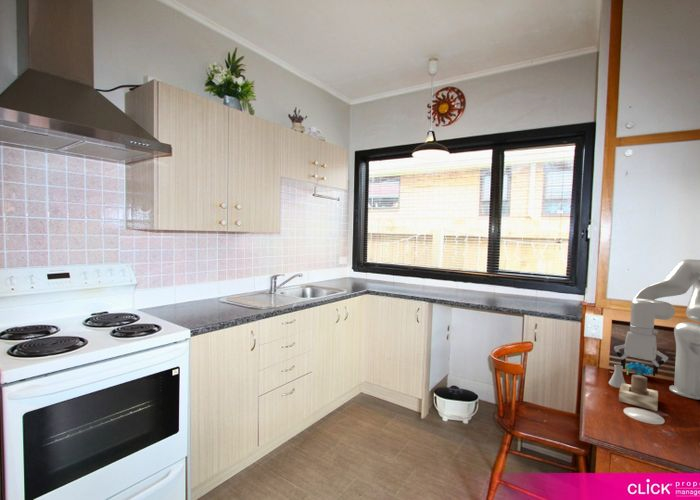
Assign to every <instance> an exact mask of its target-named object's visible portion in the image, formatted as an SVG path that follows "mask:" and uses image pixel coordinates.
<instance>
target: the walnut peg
mask: <svg viewBox="0 0 700 500" xmlns="http://www.w3.org/2000/svg"><path fill="white" fill-rule="evenodd" d="M630 383H631V384H630V385H631V392H634V393H638V394H642V395H647V389H648V377H646V376H644V375H641V374H640V375H638V374H632V375H631V381H630Z"/></svg>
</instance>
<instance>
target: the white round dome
mask: <svg viewBox="0 0 700 500" xmlns="http://www.w3.org/2000/svg"><path fill="white" fill-rule="evenodd" d="M623 413H624V415H626V416H628V417H629V418H631V419H633V420H636V421H638V422H642V423H646V424H651V425H663V424H664V423H665V422H666V421H665V419H664V417H662V416H660V415H659V414H658V413H655V412H652V411H651V410H648V409H647V410H646V409H645V408H644V409H643V408H638V407H625V408H623Z"/></svg>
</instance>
